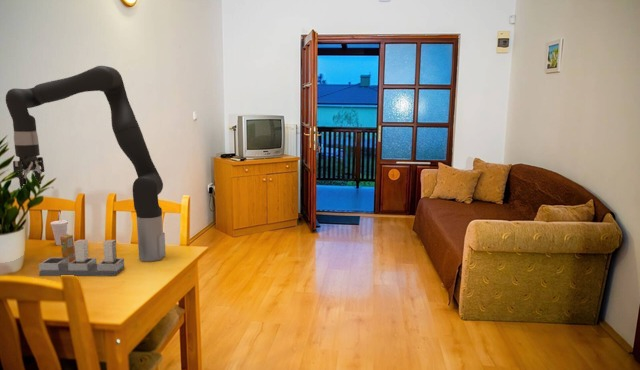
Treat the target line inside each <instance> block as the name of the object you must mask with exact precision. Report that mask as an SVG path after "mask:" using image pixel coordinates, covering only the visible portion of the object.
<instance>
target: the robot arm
mask: <svg viewBox="0 0 640 370" xmlns="http://www.w3.org/2000/svg"><path fill="white" fill-rule="evenodd" d="M126 91H127V90H126V87H125V83H124V81H123V78H122V75H121V73H120V72H119V71H118V70H117V69H115V68H114V67H111V66H106V65H96V66H95V67H93V68H89V69H88V70H84V71H83V72H81V73H77V74H75V75H72V76H69V77H65V78H61V79H60V78H59V79H56V80H55V79H54V80H51V81H47V82H46V81H45V82H42V83H39V84H36V85H35V86H33V87H30V88H11V89H9V90H8V91H7V93H6V95H5V104H6V107H7V110H8V112H9V114H10V117H11V119H12V126H13V143H14V150H15V152H14V153H15V156H16V158H17V157H18V158H19V159H18V160H13V161H12V168H13V169H12V170H13V173H14V172H16V171H17V172H18V171H19V170H23V169H24V171H23V172H22V173H20V174H19V175H17V176H15V177H14V178H17V179H18V180H19V183H18V184H19V186H20V187H19V188H20V189H23V188H22V186H23V184H26V178H27V176H28V174H29V173H30V172H32V173H33V175H35V177H36V179H37V180H39V179H40V178H41V179H42V173H44V172H45V165H44V164H45V163H44V157H42V156H40V145H39V144H40V143H39V135H38V132H37V124H36V123H37V121H36V118H35V116H33V115H31V114H30V113H29V110H28V109H32V108H36V107H39V106H42V105H44V104H47V103H52V102H53V103H54V102H57V101H62V100H65V99H68V98H70V97H73V96H75V95H78V94H80V93H81V94H82V93H85V92H86V93H88V92H103V94H104V96H105V98H106V100H107V102H108V104H109V109H110V115H111V127H112V131H113V134H114V136H115V139H116V142H117V144H118V145H119V147H120V149H121V150H122V152H123V154H125V156H126V157H127V158H128V159H129V161H130V162H131V163H132V165H133V167H134V169H135V172H136V175H137V178H136V179H135V180H134V182H132V183H133V184H132V198H133V208H134V211H135V212H136V213H135V214H136V215H135V216H136V230H137V251H138V260H139V261H142V262H155V261H162V259H164V258H165V257H166V238H165V237H166V234H165V232H164V231H163V230H164V229H163V209H162V207H161V206H160V203H159V194H161V193H162V191H163V188H164V182H163V180H162V177H161V175H160V173H159V171H158V169H157V167H156V166H155V163H154V162H153V160H152V157H151V155H150V151H149V149H148V146H147V144H146V141H145V139H144V135H143V132H142V130H141V128H140V125H139V122H138V120H137V118H136V115H135V113H134V111H133V108H132V106H131V104H130V100H129V98H128V94H127V92H126ZM41 184H42V180H41V181H40V182H39V184H38V185H41Z"/></svg>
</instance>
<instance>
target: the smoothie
mask: <svg viewBox="0 0 640 370" xmlns="http://www.w3.org/2000/svg"><path fill="white" fill-rule="evenodd" d="M57 214H58V220H54V221H51V222H50V226H51V230H52V233H53V237H54V242H55V245H56V246H61V239H60V237H61V236H63V235H66V234H67V233H68V232H67V231H68V223H69V222H68V220H65V219H64V220H63V219H62V220H61V212H60V211H58V213H57Z"/></svg>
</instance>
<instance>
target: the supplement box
mask: <svg viewBox="0 0 640 370" xmlns="http://www.w3.org/2000/svg"><path fill="white" fill-rule="evenodd" d="M60 239H61V245H60V247H61V258H69V263H71V262H72V261H74V260H75V253H74V246H75V245H74V237H73V234H72V235H71V234H66V235H63V236H61V237H60Z"/></svg>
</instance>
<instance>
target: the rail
mask: <svg viewBox="0 0 640 370" xmlns="http://www.w3.org/2000/svg"><path fill="white" fill-rule="evenodd" d="M116 242H117V241H116V239H106V240H105V241H103V242H102V243H103V244H102V245H103V246H102V247H103V260H100V262H98V261H97V258H96V257H90V256H89V245H88V244H89V243H88V239H77V240H76V241H73V243H74V253H75V260H73V261H71V262H69V258H62V257H48V258H47V259H45V260H43V261H42V262H40V263H38V268H39V271H38V273H39V274H38V275H39V276H49V277H52V276H53V277H54V276H56V277H58V276H60V277H61V275H76V276H75V277H116V276H117V275H118V274H119V273H120V272H121V271H123V270H124V269H125V258H123V257H117V243H116ZM97 262H98V263H97Z"/></svg>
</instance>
